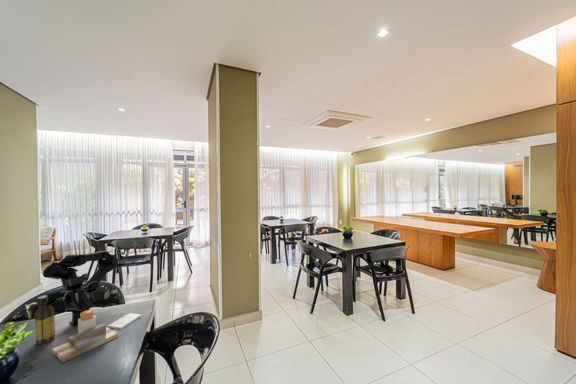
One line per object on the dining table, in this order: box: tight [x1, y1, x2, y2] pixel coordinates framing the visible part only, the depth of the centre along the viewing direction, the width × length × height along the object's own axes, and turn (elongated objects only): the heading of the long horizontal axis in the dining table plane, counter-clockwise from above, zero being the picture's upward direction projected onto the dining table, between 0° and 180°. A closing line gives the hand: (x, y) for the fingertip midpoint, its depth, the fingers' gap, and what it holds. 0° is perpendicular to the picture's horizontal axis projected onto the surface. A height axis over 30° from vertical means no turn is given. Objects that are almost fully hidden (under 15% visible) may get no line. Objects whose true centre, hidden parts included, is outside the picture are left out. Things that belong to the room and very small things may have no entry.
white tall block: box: [77, 309, 97, 334], centre depth 103 cm, size 5×5×12 cm
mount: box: [52, 323, 119, 363], centre depth 103 cm, size 12×19×8 cm, turn 149°
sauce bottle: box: [34, 294, 56, 345], centre depth 105 cm, size 6×6×20 cm
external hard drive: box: [106, 312, 143, 330], centre depth 121 cm, size 2×8×12 cm
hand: (78, 307), depth 108 cm, fingers closed
